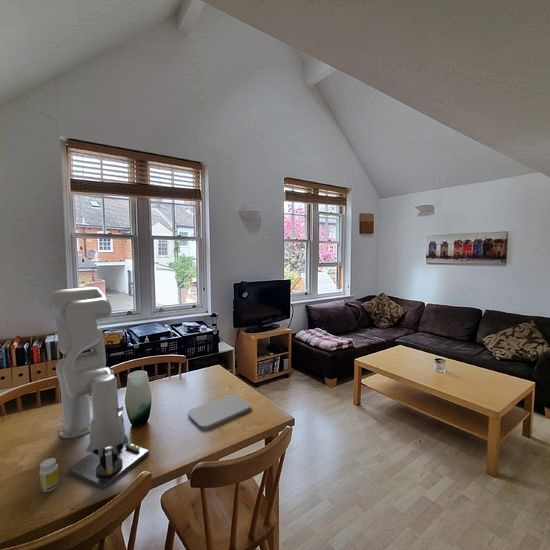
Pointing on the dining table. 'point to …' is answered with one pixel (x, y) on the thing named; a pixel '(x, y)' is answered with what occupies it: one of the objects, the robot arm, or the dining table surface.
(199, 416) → the tablet
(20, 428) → the dining table surface
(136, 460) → the base plate
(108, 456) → the level dial
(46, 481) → the supplement bottle
